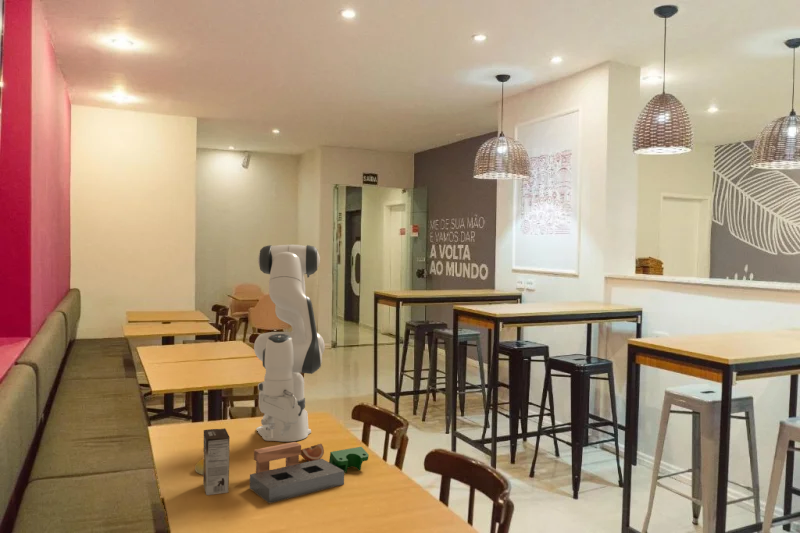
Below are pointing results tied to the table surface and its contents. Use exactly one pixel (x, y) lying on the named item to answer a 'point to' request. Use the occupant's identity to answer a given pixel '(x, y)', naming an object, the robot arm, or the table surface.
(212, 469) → the coffee box
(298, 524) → the table surface
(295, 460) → the wooden bridge block
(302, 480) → the cinder block
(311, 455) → the fruit slice
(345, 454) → the clamp
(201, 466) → the bread roll
